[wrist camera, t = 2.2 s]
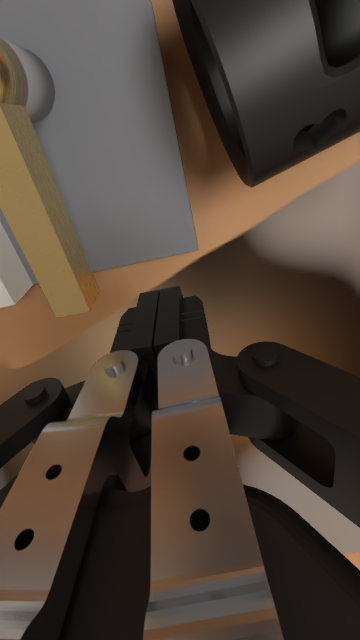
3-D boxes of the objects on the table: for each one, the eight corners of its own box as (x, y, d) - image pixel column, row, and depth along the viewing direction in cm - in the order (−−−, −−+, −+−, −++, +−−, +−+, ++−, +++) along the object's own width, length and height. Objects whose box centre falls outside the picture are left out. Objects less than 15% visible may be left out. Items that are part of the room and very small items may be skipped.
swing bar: (-65, 41, 13) (-120, 22, 11) (4, 18, 13) (-36, -5, 10) (60, 299, 20) (44, 323, 17) (108, 289, 19) (98, 313, 17)
